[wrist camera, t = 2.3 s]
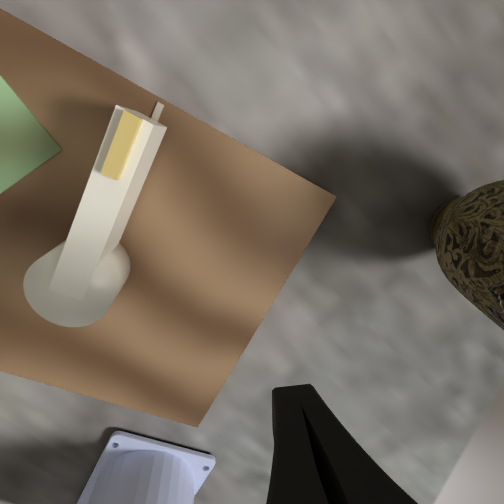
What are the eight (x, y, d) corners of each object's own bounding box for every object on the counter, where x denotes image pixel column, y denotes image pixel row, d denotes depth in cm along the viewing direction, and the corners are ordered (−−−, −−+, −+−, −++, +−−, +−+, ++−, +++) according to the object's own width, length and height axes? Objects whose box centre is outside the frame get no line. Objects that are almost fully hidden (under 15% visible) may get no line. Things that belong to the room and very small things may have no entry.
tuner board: (198, 415, 23) (197, 428, 22) (-130, 317, 18) (-151, 329, 17) (330, 193, 18) (337, 197, 17) (-64, -27, 13) (-88, -41, 12)
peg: (116, 303, 18) (90, 347, 14) (49, 278, 17) (3, 318, 13) (189, 139, 15) (181, 140, 11) (115, 98, 14) (79, 86, 10)
